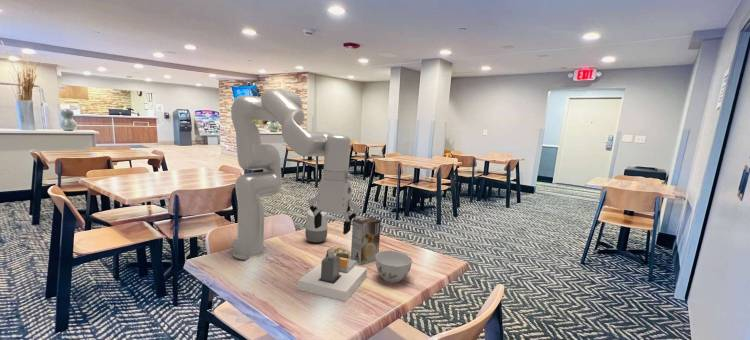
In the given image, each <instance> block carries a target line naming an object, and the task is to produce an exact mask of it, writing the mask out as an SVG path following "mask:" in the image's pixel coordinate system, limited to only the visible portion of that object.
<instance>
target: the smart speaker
mask: <svg viewBox="0 0 750 340" xmlns="http://www.w3.org/2000/svg"><path fill="white" fill-rule="evenodd" d="M306 214H307V215H306V223H305V232H304V233H305V234H304V235H305V239H306V241H308V242H309V243H314V244H319V243H323V242H325V241H326V239H327V237H328V212H324V211H322V212H321V214H322V223H321V226H320V227H319V228H317V229H316V228H315V225H314V217H315V216H314V215H313V212H312V211H311V209H310V208H309V209H308V210H307V213H306Z"/></svg>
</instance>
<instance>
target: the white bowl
mask: <svg viewBox="0 0 750 340" xmlns="http://www.w3.org/2000/svg"><path fill="white" fill-rule="evenodd" d="M374 262H375V267H376V270H377V272H378V274H379V275H380V277H381V278H382V279H383V280H384V281H385V282H386V283H390V284H395V283H400V282H401V280H403V279H404V278H405V277H406V276H407V275H408V274H409V272H410V270H411V267H412V264H413V259H412V257H411V256H409V255H408V254H407V253H404V252H401V251H395V250H382V251H379V253H377V254H376V256H375V260H374Z"/></svg>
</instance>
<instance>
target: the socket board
mask: <svg viewBox="0 0 750 340" xmlns="http://www.w3.org/2000/svg"><path fill="white" fill-rule="evenodd" d="M321 265H322V261H321V262H319V264H317V265H316V266H314V267H313V268H312V269H310V271H308V272H306V273H305V274H304V275H303V276H302V277H300V278H299V279H298V280H297V290H298V291H301V292H304V293H305V292H306V293H309V294H314V295H317V296H322V297H325V298H330V299H334V300H336V301H337V300H338V301H342V302H346V301H347V300H348V299H349V298H350V297H351V296H352V295H353V293H354V292H355V291H356V290H357V289H358V288H359V286H360V285H361V284H362V283H363V282H364V280H365V279H366V277H367V273H368V268H367V267H364V266H358V265H354V266H353V267H352V268H351V269H350V270H349V271H348V272H343V271H339V279H338V280H337V281H336V282H335V283H334V284H332V283H328V282H323V281H321Z"/></svg>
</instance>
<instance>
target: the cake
mask: <svg viewBox="0 0 750 340" xmlns="http://www.w3.org/2000/svg"><path fill="white" fill-rule="evenodd" d="M329 251H334V256H337V257H342V258H347V259H350V260H351V251H350V250H349V249H346V248H345V247H340V246H338V247H331V248H328V249H327V250H326V255H325V257H324V258H326V257H327V256H328V253H329Z"/></svg>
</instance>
